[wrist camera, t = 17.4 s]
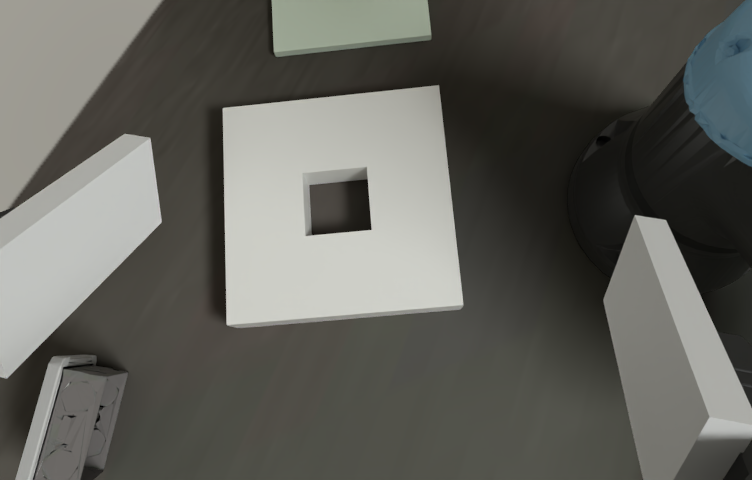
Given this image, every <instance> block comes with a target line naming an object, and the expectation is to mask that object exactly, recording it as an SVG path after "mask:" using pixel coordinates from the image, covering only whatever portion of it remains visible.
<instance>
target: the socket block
mask: <svg viewBox="0 0 752 480" xmlns="http://www.w3.org/2000/svg"><path fill="white" fill-rule="evenodd" d="M223 153H224V209H225V264H226V320H227V325H228V326H232V327H236V328H247V327H259V326H271V325H282V324H294V323H306V322H318V321H330V320H341V319H353V318H365V317H377V316H389V315H401V314H412V313H424V312H436V311H448V310H460V309H461V308H462V306H463V297H462V288H461V279H460V270H459V261H458V252H457V243H456V234H455V225H454V216H453V207H452V198H451V189H450V180H449V171H448V162H447V153H446V144H445V135H444V126H443V117H442V108H441V99H440V90H439V85H436V86H427V87H417V88H408V89H399V90H389V91H380V92H370V93H361V94H351V95H342V96H332V97H323V98H314V99H304V100H295V101H285V102H276V103H266V104H257V105H247V106H238V107H229V108H223ZM366 179H368V190H369V203H370V215H371V228H372V230H365V231H355V232H344V233H333V234H322V235H312V228H311V210H310V191H309V185H314V184H325V183H335V182H345V181H355V180H366Z"/></svg>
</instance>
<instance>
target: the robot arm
mask: <svg viewBox="0 0 752 480" xmlns="http://www.w3.org/2000/svg"><path fill="white" fill-rule="evenodd" d="M567 204H568V214H569V219H570V223H571V226H572V229H573V232H574V234H575V236H576V239H577V241H578V242H579V244H580V246H581V248H582V249H583V251H584V252H585V253H586V255H587V256H588V257H589V259H590V260H591V261H592V262H593V263H594V264H595V265H596V266H597V267H598V268H599V269H600V270H601V271H602V272H603V273H605V274H606V275H607V276H609V277H610V278H611V280H610V283H609V286H608V288H607V291H606V294H605V296H604V299H603V302H604V306H605V311H606V315H607V320H608V324H609V329H610V333H611V338H612V342H613V346H614V351H615V355H616V360H617V364H618V369H619V373H620V378H621V382H622V387H623V391H624V396H625V400H626V405H627V409H628V414H629V418H630V423H631V427H632V432H633V436H634V441H635V445H636V449H637V454H638V458H639V463H640V467H641V472H642V476H643V480H752V346H751V345H750V344H749V343H748V342H747V341H746V340H745V339H744V338H743V337H742V336H738V335H732V334H727V333H721V332H717V331H716V329H715V326H714V324H713V322H712V320H711V318H710V315H709V313H708V311H707V309H706V307H705V304H704V302H703V300H702V298H701V296H700V294H703V293H706V292H710V291H713V290H716V289H719V288H722V287H724V286H726V285H728V284H730V283H732V282H734V281H736V280H737V279H739V278H740V277H742V276H743V275H744V274H746V273H747V272H748V271H749V270H751V269H752V0H745V1H744V2H743V3H742V4H741V5H740V6H739V7H738V8H737V9H736V10H735V11H734V12H733V13H732V14H731V15H730V16H729V17H728V18H727V19H726V20H725V21H724V22H722V23H720V24H719V25H718V26H716V27H715V28H713V29H712V30H711V31H710V32H709V33H708V34H707V35H705V37H704V39H703V40H702V41H701V42H700V43H699V44H698V45H697V46H696V47H695V49H694V51H693V52H692V54H691V56H690V57H689V58H688V61H687V63H686V64H685V65H684V66H683V67H682V69H681V70H680V71H679V72H678V73H677V75H676V76H675V77H674V78H673V79H672V81H671V82H670V83H669V84H668V85H667V87H666V88H665V89H664V90H663V91H662V93H661V94H660V95H659V96H658V97H657V99H656V100H655V101H654V102H653V103H652V105H651V106H649V107H646V108H643V109H640V110H637V111H634V112H631V113H629V114H626V115H624V116H622V117H620V118H618V119H617V120H615V121H613V122H612V123H610V124H609V125H608V126H606V127H605V128H604V129H603V130H601V131H600V132H599V133H598V134H597V135H596V136H595V137H594V138H593V140H592V141H591V142H590V143H589V145H588V146H587V147H586V149H585V150H584V151H583V153H582V154H581V156H580V157H579V159H578V161H577V162H576V165H575V167H574V169H573V171H572V174H571V178H570V181H569V186H568V196H567ZM161 223H162V220H161V213H160V205H159V198H158V191H157V183H156V176H155V168H154V161H153V154H152V146H151V139H150V138H148V137H142V136H136V135H129V134H124V135H122V136H121V137H119V138H118V139H116V140H115V141H113V142H112V143H111V144H109V145H108V146H106V147H105V148H103V149H102V150H100V151H99V152H97V153H96V154H94V155H93V156H91V157H90V158H89V159H87V160H86V161H84V162H83V163H81V164H80V165H78V166H77V167H75V168H74V169H72V170H71V171H69V172H68V173H66V174H65V175H64V176H62V177H61V178H59V179H58V180H56V181H55V182H53V183H52V184H50V185H49V186H47V187H46V188H44V189H43V190H42V191H40V192H39V193H37V194H36V195H34V196H33V197H31V198H30V199H28V200H27V201H25V202H24V203H22V204H21V205H19V206H18V207H17V208H11V209H8V210H6V211H3V212H0V377H2V378H8V377H9V376H10V375H11V374H12V373H13V372H14V371H15V370H16V369H17V368H18V367H19V366H20V365H21V364H22V363H23V362H24V361H25V360H26V359H27V358H28V357H29V356H30V355H31V354H32V353H33V352H34V351H35V350H36V349H37V348H38V347H39V346H40V345H41V344H42V343H43V342H44V341H45V340H46V339H47V338H48V337H49V336H50V335H51V334H52V333H53V332H54V331H55V330H56V329H57V327H58V326H59V325H60V324H61V323H62V322H63V321H64V320H65V319H66V318H67V317H68V316H69V315H70V314H71V313H72V312H73V311H74V310H75V309H76V308H77V307H78V306H79V305H80V304H81V303H82V302H83V301H84V300H85V299H86V298H87V297H88V296H89V295H90V294H91V293H92V292H93V291H94V290H95V289H96V288H97V287H98V286H99V285H100V284H101V283H102V282H103V281H104V280H105V279H106V278H107V277H108V276H109V275H110V274H111V273H112V272H113V271H114V270H115V269H116V268H117V267H118V266H119V265H120V264H121V263H122V262H123V261H124V260H125V259H126V258H127V257H128V256H129V255H130V254H131V253H132V252H133V251H134V250H135V249H136V248H137V247H138V246H139V245H140V244H141V243H142V242H143V241H144V240H145V239H146V238H147V237H148V236H149V235H150V234H151V233H152V232H153V231H154V230H155V229H156V228H157V227H158V226H159V225H160V224H161Z"/></svg>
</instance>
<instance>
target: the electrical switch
mask: <svg viewBox="0 0 752 480" xmlns="http://www.w3.org/2000/svg"><path fill="white" fill-rule="evenodd" d="M96 362H97V357H96V356H95V355H68V356H53V357H52V359H51V361H50V362H49V364H48V367H47V371H46V374H45V378H44V381H43V385H42V388H41V392H40V396H39V399H38V403H37V406H36V410H35V413H34V417H33V420H32V424H31V427H30V431H29V434H28V438H27V441H26V445H25V448H24V452H23V455H22V459H21V462H20V466H19V469H18V473H17V476H16V480H93V479H95V478H96V477H97V476H98V475H99V474H100V473H102V472H103V471H104V470H98V469H104V466H105V462H106V458H107V454H108V450H109V446H110V443H111V439H112V435H113V431H114V427H115V423H116V419H117V415H118V411H119V407H120V403H121V399H122V395H123V391H124V387H125V383H126V379H127V375H128V372H125V371H119V370H115V369H113V368H112V367H109V368H106V367H100V366H96ZM107 379H108V380H109V381H108V380H107ZM117 389H118V391H119V392H118V391H117ZM114 400H115V401H114ZM113 401H114V403H113V404H112V402H113ZM100 405H101V406H106V407H100ZM98 413H99V414H100V419H99V421H98V422H97V423H95V422H96V418H97V415H98ZM94 428H97V429H99V430H100V431H99V430H94ZM105 439H106V442H105ZM94 455H95V456H94ZM92 468H94V469H92Z"/></svg>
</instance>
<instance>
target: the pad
mask: <svg viewBox="0 0 752 480" xmlns="http://www.w3.org/2000/svg"><path fill="white" fill-rule="evenodd" d="M272 20H273V45H274V54H275V56H276V57H281V56H290V55H300V54H309V53H318V52H327V51H336V50H345V49H354V48H363V47H372V46H381V45H390V44H399V43H408V42H418V41H427V40H431V28H430V18H429V9H428V0H272Z"/></svg>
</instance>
